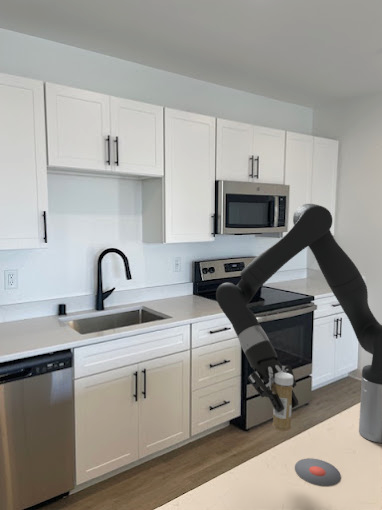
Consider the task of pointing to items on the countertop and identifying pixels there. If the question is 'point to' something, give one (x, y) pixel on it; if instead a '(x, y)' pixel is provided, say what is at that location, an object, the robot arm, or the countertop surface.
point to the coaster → (317, 472)
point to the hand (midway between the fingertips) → (288, 408)
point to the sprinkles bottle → (283, 401)
